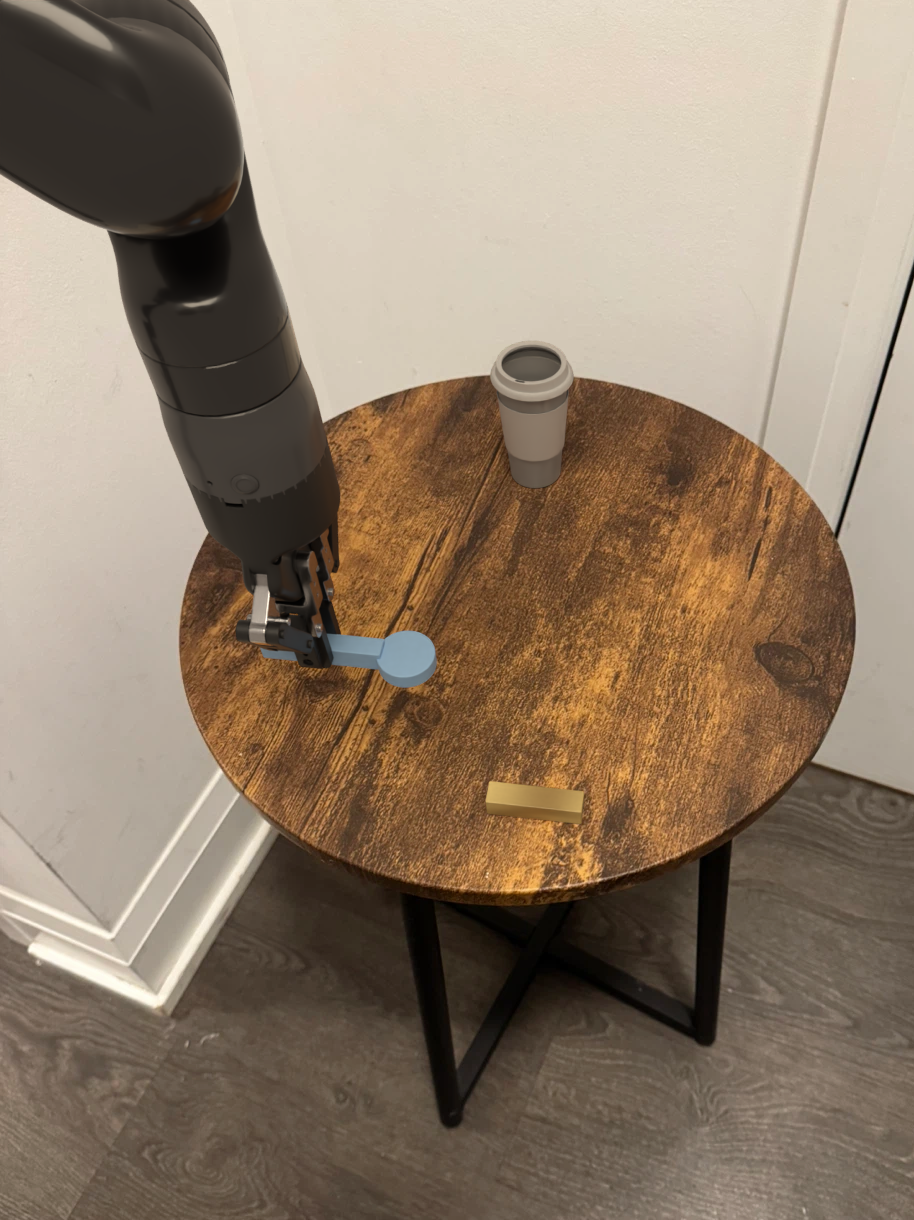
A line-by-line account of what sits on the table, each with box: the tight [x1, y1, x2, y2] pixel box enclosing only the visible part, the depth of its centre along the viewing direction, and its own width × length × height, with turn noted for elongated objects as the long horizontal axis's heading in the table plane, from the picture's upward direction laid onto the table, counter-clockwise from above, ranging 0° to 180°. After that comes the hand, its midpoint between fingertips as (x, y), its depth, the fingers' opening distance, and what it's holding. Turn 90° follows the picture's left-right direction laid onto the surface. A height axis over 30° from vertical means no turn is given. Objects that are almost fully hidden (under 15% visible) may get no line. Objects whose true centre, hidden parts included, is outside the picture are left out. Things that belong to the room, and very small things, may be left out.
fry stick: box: [484, 780, 585, 825], centre depth 76 cm, size 7×2×2 cm, turn 82°
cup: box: [489, 340, 575, 489], centre depth 92 cm, size 7×7×12 cm
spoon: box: [259, 630, 438, 689], centre depth 67 cm, size 11×4×2 cm, turn 82°
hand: (320, 651), depth 67 cm, fingers closed on spoon, 1 cm apart
